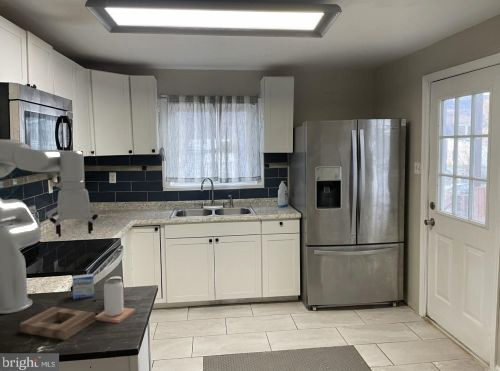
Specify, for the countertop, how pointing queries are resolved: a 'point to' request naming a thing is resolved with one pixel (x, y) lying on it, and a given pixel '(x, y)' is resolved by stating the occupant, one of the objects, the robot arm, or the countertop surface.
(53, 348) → the countertop surface
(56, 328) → the well board
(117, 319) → the tile
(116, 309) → the can
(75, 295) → the medicine box
